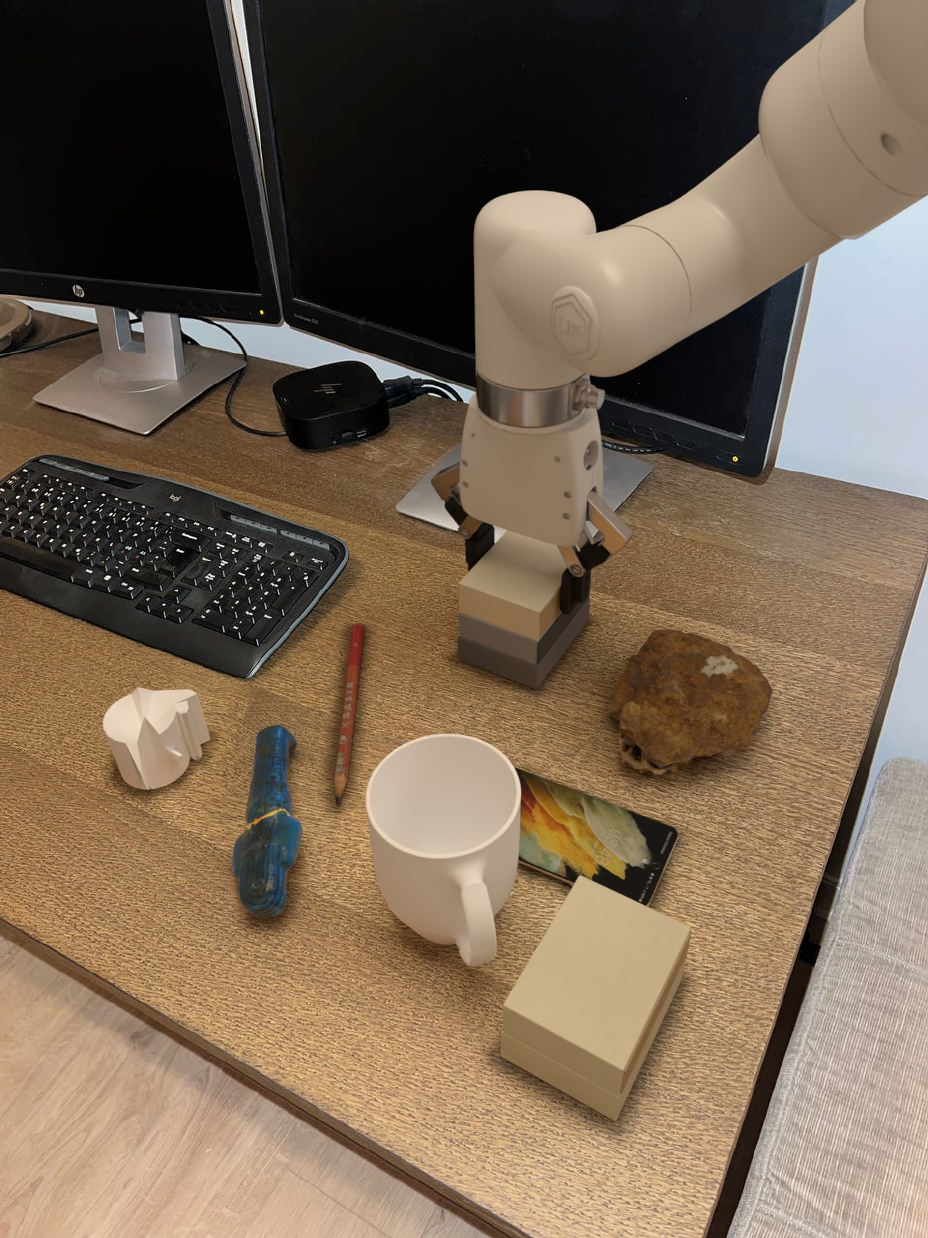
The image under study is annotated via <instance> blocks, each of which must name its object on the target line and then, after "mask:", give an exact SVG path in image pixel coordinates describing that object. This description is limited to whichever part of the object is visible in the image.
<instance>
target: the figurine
mask: <svg viewBox="0 0 928 1238" xmlns="http://www.w3.org/2000/svg"><path fill="white" fill-rule="evenodd" d="M297 745H298V742H297V738H295V736H294V734H293V733H292V732H290V730H289V729H287V727H285V726H284V725H281V724H273V725H269V726H267V727H264V728H263V729H260V731H258V733H257V734H256V739H255V750H254V759H253V767H252V776H251V781H250V785H249V786H250V787H249V792H248V797H247V802H246V803H247V804H246V810H245V821H246V827H245V830H244V831H243V832H242V833H241V834H240V835H239V836H238V837H237V839H236V840H235V841H234V845H233V851H232V871H233V873H232V874H233V876H234V877H235V879H237V881H238V889H237V891H238V899H239V903H240V905H241V907H242V908H243V909H244V910H245V911H247V912H248V913H249V914H251V915H253V916H255V917H258V918H272V917H276V916H279V915H280V914H282V913H283V912H284V911H285V910H286V906H287V885H288V884H287V883H288V875H289V869H291V868H292V867H293V866H294V864H295V863H296V862H297V859H298V856H299V853H300V850H301V849H300V848H301V843H302V838H303V834H304V831H303V825H302V823H301V821H300V820H298V819H297V818H295V817H294V809H293V802H292V795H291V791H290V788H289V782H288V777H289V776H288V775H289V767H290V766H289V765H290V753H292V752H294V750H296V748H297Z"/></svg>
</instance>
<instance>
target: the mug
mask: <svg viewBox="0 0 928 1238" xmlns="http://www.w3.org/2000/svg"><path fill="white" fill-rule="evenodd" d="M514 767H515V766H514V765H513V764H512V762H511V761H510V759H509V758H508V757H507V756H506V755H505V754H504V753H503V752H502V751H501V750H499V749H498V748H496V746H494V745H492V744H490V743H489V742H487V741H485V740H482V739H479V738H476V737H473V736H470V735H465V734H459V733H437V734H429V735H425V736H421V737H417V738H414V739H412V740H410V741H408V742H405V743H404V744H401V745H400V746H398V747H397V748H395V749H394V750H392V751H391V752H390V753H388V754H387V755H386V756H385V757H384V758H383V759H381V761H380V762H379V763H378V764H377V766H376V767H375V769H374V770H373V772H372V774H371V775H370V778H369V780H368V783H367V786H366V790H365V791H366V792H365V809H366V817H367V823H368V830H369V831H368V832H369V840H370V847H371V855H372V860H373V866H374V873H375V876H376V880H377V884H378V887H379V890H380V893H381V896H382V898H383V899H384V901H385V903H386V905H387V907H388V908H389V909H390V910H391V912H392V913H393V914H394V915H395V917H397V918H398V919H399V920H400V921H401V922H402V923H403V924H405V925H406V926H407V927H408V928H410V929H411V930H413V931H414V932H415V933H417V934H418V935H419V936H420V937H422V938H423V939H425V940H426V941H428V942H430V943H434V944H437V945H446V946H448V945H449V946H451V945H456V946H457V948H458V949H459V950H458V954H459V955H460V957H461V959H462V960H463V962H464V964H465V965H466V966H468V967H477V966H481V965H483V964H484V965H485V964H486V963H488V962H491V961H492V960H493V959H495V957H496V954H497V950H498V949H497V947H498V945H497V944H498V941H497V930H496V923H495V916H496V915H498V913H499V912H500V911H501V910H502V909H503V907H504V905H505V904H506V902H507V900H508V899H509V897H510V894H511V893H512V890H513V887H514V884H515V880H516V877H517V872H518V867H519V866H518V865H519V863H518V856H519V839H520V805H521V786H520V781H519V777H518V775H517V772H516V770H515V768H514Z"/></svg>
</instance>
